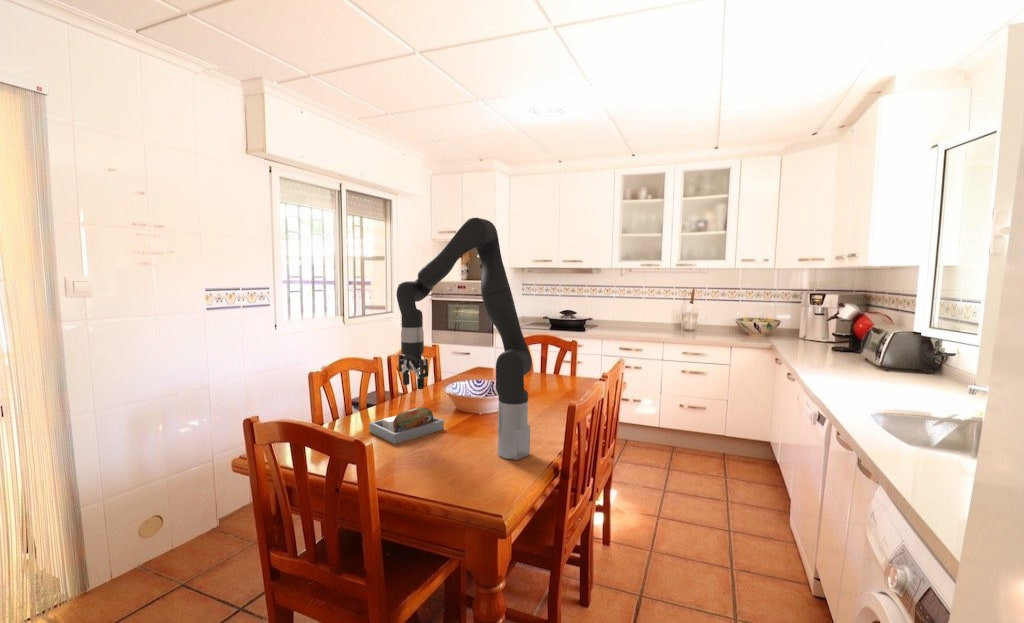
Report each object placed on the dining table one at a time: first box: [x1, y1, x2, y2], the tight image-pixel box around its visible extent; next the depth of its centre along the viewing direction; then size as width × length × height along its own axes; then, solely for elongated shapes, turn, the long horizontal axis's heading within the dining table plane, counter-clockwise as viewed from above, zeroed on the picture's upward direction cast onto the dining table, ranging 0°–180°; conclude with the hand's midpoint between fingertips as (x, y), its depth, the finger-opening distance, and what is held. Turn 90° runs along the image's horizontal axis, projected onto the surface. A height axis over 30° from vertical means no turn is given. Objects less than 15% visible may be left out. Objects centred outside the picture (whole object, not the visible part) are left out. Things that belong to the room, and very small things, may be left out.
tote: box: [368, 416, 445, 445], centre depth 161 cm, size 16×20×4 cm
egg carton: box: [381, 415, 397, 432], centre depth 163 cm, size 4×12×4 cm, turn 136°
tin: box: [393, 407, 434, 433], centre depth 158 cm, size 15×3×8 cm, turn 136°
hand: (413, 386), depth 156 cm, fingers open, 8 cm apart
